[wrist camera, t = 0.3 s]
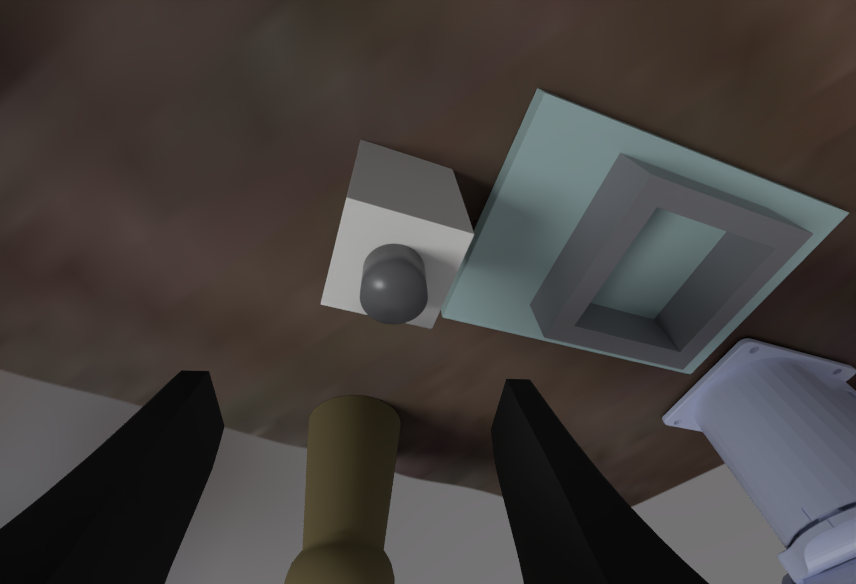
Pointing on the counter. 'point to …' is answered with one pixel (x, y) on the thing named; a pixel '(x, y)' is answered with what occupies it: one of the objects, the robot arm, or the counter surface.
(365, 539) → the cork
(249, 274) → the counter surface
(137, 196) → the counter surface
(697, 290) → the socket
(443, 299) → the plug
